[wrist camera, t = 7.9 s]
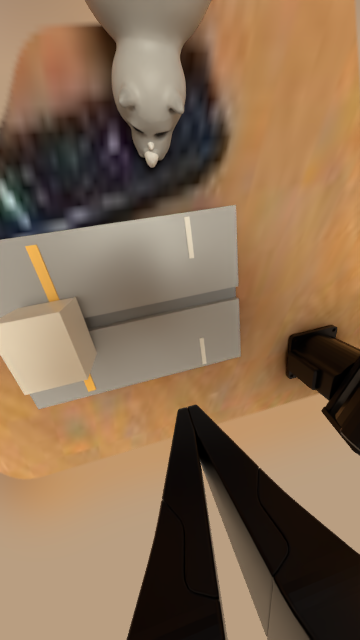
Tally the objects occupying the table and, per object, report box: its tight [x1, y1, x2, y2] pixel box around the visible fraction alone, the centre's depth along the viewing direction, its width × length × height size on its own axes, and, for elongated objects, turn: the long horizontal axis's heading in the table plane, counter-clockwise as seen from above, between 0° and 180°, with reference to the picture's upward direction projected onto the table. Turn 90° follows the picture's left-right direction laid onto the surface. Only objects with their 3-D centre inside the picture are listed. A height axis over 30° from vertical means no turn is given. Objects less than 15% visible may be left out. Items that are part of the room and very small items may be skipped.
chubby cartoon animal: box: [85, 0, 211, 168], centre depth 10 cm, size 7×12×8 cm, turn 0°
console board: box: [0, 205, 241, 409], centre depth 18 cm, size 20×14×3 cm
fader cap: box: [0, 297, 97, 395], centre depth 14 cm, size 4×5×4 cm
